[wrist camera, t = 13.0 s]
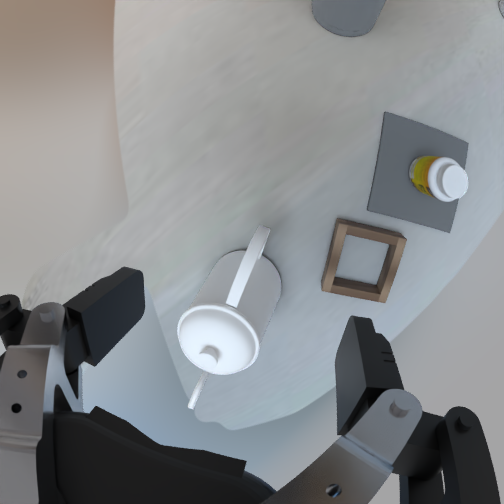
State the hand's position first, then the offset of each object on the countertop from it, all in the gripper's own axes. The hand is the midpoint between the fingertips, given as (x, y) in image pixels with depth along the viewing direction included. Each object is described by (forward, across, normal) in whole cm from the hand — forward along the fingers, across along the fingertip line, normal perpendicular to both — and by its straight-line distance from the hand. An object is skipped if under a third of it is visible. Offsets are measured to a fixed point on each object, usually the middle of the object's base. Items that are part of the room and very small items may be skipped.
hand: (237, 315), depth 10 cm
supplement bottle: (+29, -18, -7) cm, 35 cm away
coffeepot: (+30, +5, +14) cm, 34 cm away
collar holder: (+30, -12, +6) cm, 33 cm away
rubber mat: (+30, -18, -7) cm, 35 cm away
